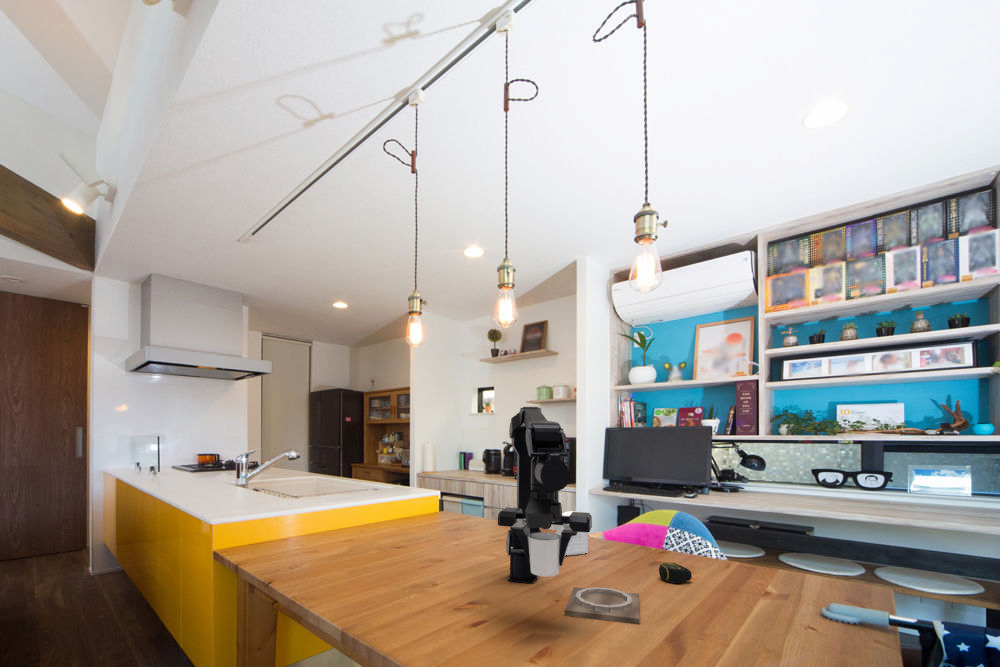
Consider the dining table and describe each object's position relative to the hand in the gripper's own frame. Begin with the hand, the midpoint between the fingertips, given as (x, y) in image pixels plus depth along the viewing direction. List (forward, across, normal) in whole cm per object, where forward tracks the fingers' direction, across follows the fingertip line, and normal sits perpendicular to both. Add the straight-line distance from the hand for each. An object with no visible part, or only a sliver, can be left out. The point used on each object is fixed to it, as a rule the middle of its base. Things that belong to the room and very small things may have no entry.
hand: (544, 564), depth 99 cm
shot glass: (+2, 0, 0) cm, 2 cm away
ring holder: (+11, +11, +13) cm, 20 cm away
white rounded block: (+12, -2, +54) cm, 56 cm away
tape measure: (+12, +27, +38) cm, 48 cm away
